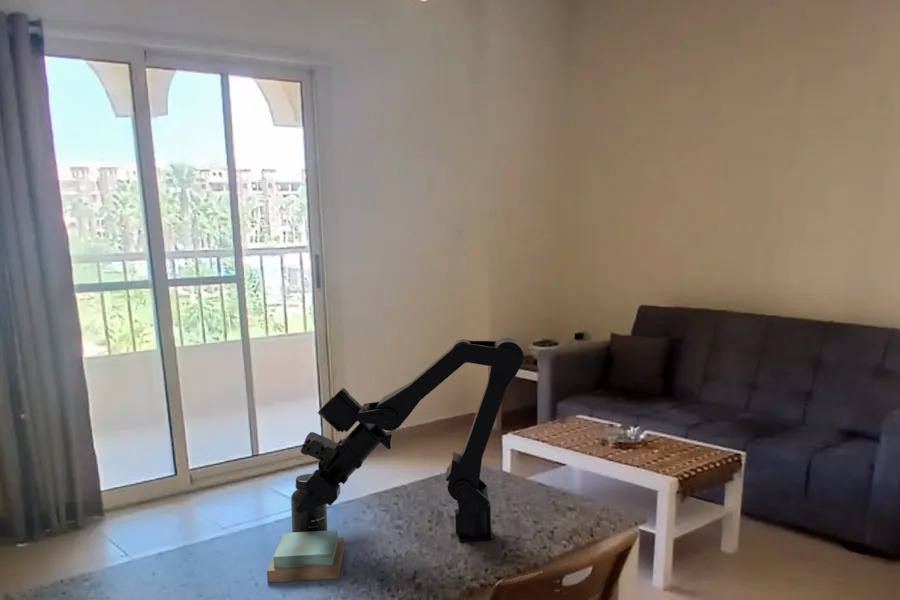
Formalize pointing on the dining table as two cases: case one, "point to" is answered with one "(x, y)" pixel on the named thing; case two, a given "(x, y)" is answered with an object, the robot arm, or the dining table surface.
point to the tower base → (307, 570)
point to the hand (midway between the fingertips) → (301, 504)
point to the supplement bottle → (310, 518)
